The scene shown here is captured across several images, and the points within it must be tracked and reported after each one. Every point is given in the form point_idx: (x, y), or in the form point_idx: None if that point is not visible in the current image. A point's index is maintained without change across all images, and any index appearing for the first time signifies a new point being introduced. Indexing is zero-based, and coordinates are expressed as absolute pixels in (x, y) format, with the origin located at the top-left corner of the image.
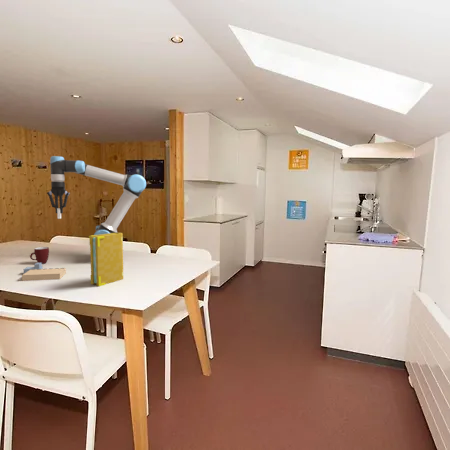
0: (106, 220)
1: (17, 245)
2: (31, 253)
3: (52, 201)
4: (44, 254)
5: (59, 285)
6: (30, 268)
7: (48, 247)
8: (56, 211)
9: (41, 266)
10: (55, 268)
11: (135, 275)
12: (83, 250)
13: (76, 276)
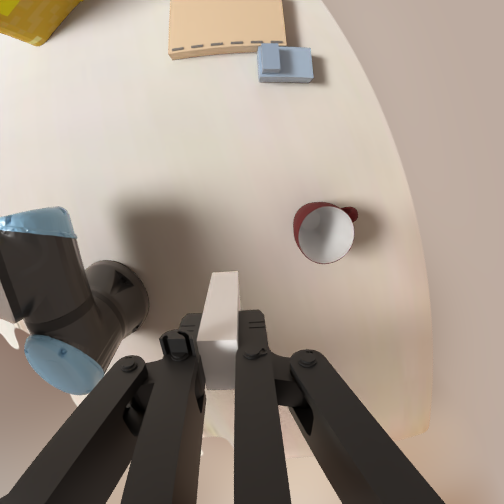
0: None
1: (408, 428)
2: (356, 215)
3: (337, 431)
4: (303, 208)
5: None
6: (291, 53)
7: (301, 250)
8: (253, 323)
9: (261, 70)
10: (200, 44)
11: (12, 70)
12: (231, 402)
13: (133, 31)
